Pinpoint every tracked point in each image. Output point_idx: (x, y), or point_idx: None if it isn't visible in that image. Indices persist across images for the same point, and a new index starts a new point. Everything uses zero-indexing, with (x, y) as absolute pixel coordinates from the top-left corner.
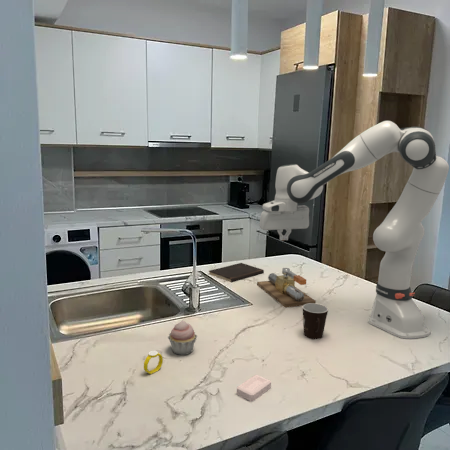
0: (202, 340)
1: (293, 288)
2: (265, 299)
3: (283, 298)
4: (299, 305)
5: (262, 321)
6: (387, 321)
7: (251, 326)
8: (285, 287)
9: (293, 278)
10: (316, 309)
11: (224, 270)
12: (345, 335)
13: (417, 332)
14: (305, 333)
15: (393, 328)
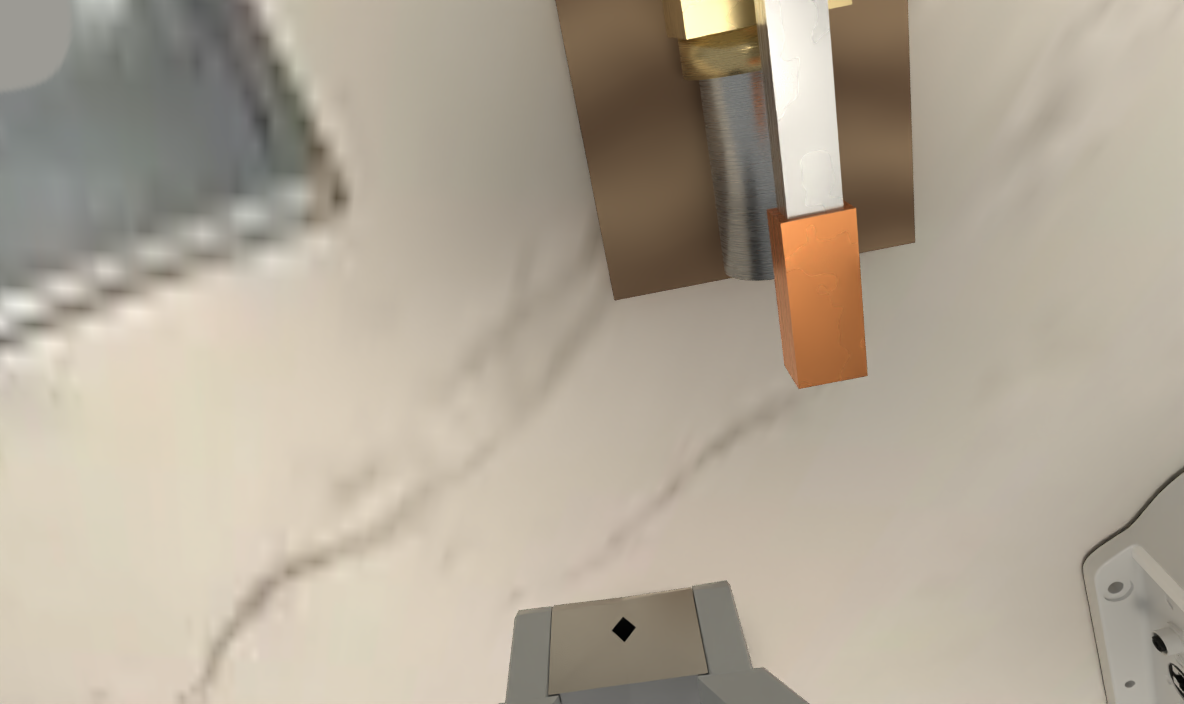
0: (26, 692)
1: (759, 160)
2: (483, 85)
3: (639, 168)
4: None
5: (389, 504)
6: (1167, 663)
7: (308, 564)
8: (697, 72)
9: (776, 193)
10: None
11: None
12: (837, 684)
13: None
14: None
15: (1151, 679)
